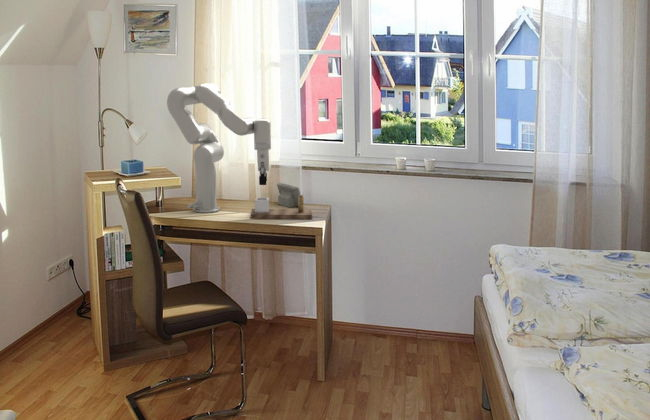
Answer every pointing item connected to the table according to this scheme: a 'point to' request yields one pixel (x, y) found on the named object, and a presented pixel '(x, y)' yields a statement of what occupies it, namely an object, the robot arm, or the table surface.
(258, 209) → the white cube
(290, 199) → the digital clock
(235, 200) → the table surface
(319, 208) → the table surface
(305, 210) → the board
